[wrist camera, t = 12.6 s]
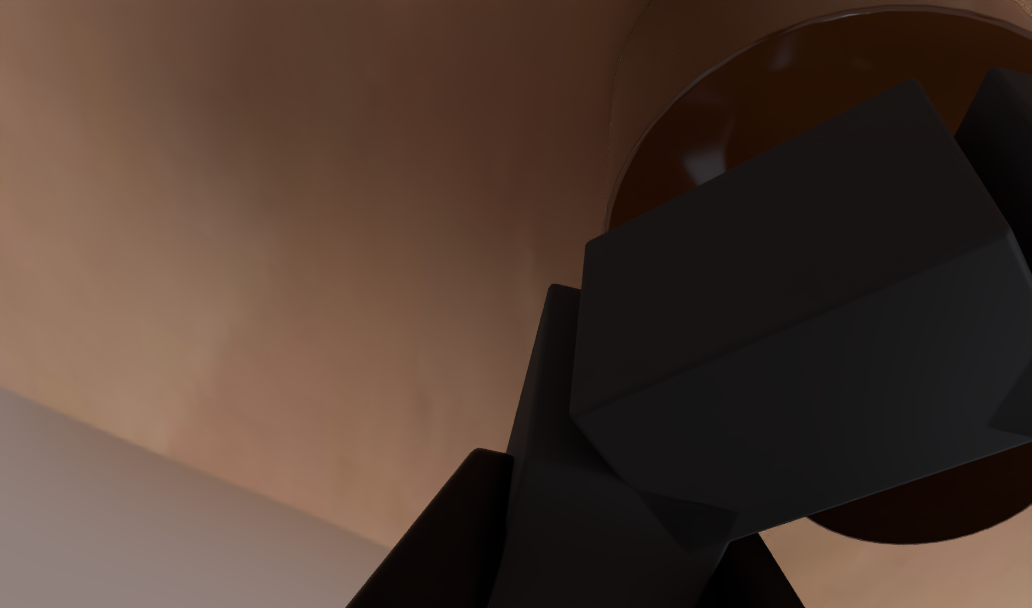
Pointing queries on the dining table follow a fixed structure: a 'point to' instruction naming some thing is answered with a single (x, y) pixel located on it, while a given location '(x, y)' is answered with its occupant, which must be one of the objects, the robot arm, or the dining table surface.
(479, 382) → the dining table surface
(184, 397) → the dining table surface
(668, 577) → the black octagonal ring
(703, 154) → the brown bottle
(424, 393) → the dining table surface
